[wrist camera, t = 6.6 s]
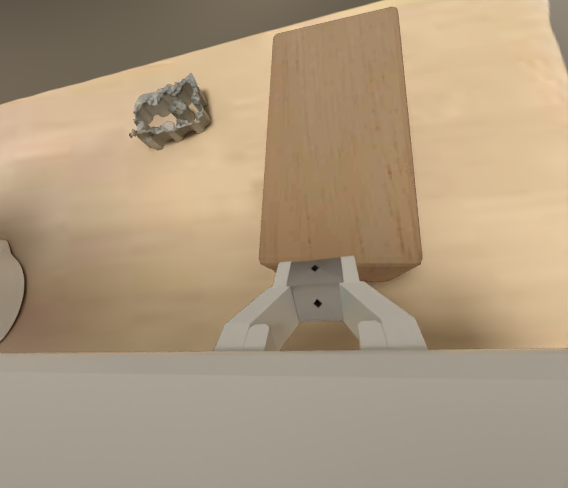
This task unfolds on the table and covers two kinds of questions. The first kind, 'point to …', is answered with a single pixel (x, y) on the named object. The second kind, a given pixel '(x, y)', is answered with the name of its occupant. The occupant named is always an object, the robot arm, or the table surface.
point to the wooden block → (340, 149)
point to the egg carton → (170, 102)
